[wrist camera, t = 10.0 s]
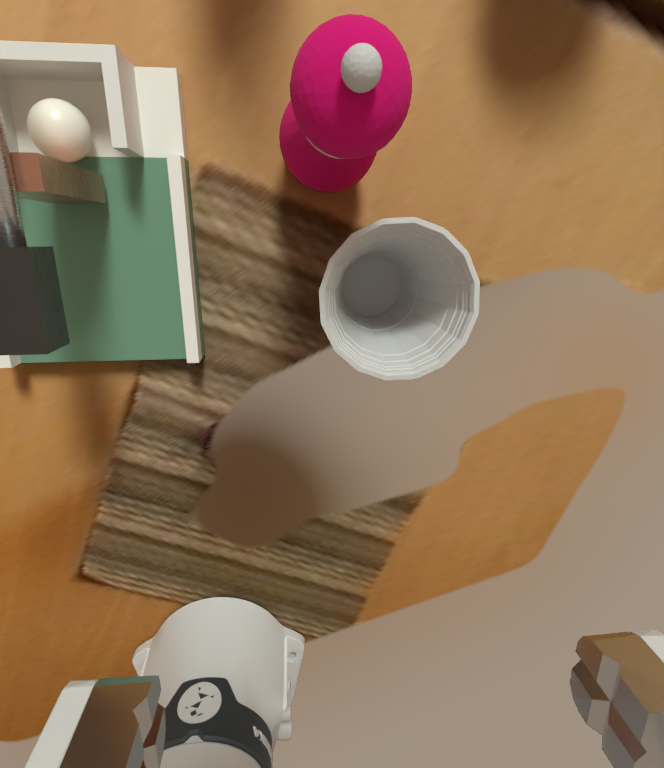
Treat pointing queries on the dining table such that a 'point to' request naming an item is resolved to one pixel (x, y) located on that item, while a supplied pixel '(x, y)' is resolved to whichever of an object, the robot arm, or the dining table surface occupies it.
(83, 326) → the pitch
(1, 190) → the kicker rod
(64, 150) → the ball
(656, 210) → the dining table surface
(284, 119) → the pepper mill
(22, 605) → the dining table surface
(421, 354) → the plastic cup
